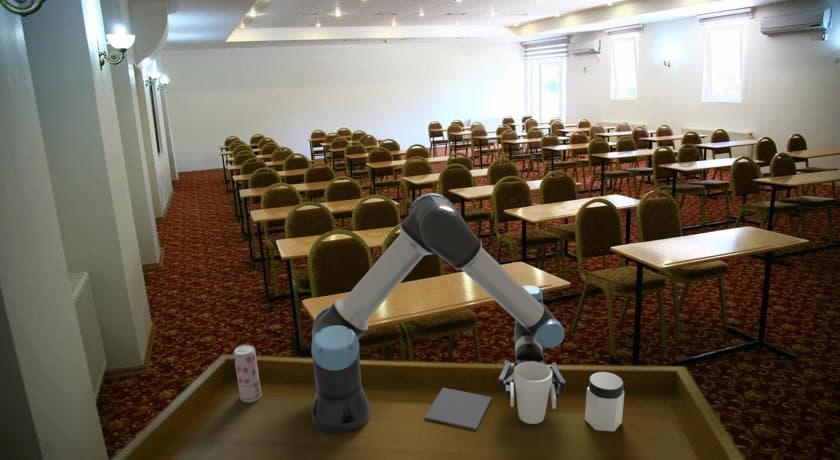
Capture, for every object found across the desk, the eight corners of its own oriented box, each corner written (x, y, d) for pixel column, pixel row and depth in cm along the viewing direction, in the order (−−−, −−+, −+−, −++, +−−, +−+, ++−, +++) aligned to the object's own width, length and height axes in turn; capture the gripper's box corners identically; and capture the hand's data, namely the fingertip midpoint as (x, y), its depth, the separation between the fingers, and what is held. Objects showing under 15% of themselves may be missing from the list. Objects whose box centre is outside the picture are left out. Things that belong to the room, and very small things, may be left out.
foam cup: (550, 429, 149) (552, 383, 145) (511, 425, 151) (513, 380, 146) (549, 406, 158) (552, 362, 154) (513, 403, 160) (515, 359, 155)
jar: (628, 427, 151) (632, 386, 147) (600, 436, 149) (603, 394, 145) (605, 407, 159) (609, 367, 155) (579, 415, 157) (581, 374, 153)
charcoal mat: (424, 418, 157) (424, 416, 157) (442, 389, 169) (442, 387, 169) (476, 430, 152) (476, 428, 152) (491, 399, 164) (491, 397, 164)
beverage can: (240, 393, 171) (233, 346, 166) (261, 389, 172) (255, 342, 167) (240, 404, 166) (232, 356, 161) (261, 401, 167) (254, 353, 162)
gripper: (569, 368, 169) (578, 418, 148) (488, 364, 171) (487, 413, 150) (570, 344, 166) (580, 391, 145) (489, 341, 169) (487, 387, 148)
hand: (533, 402), depth 148 cm, fingers closed on foam cup, 9 cm apart
